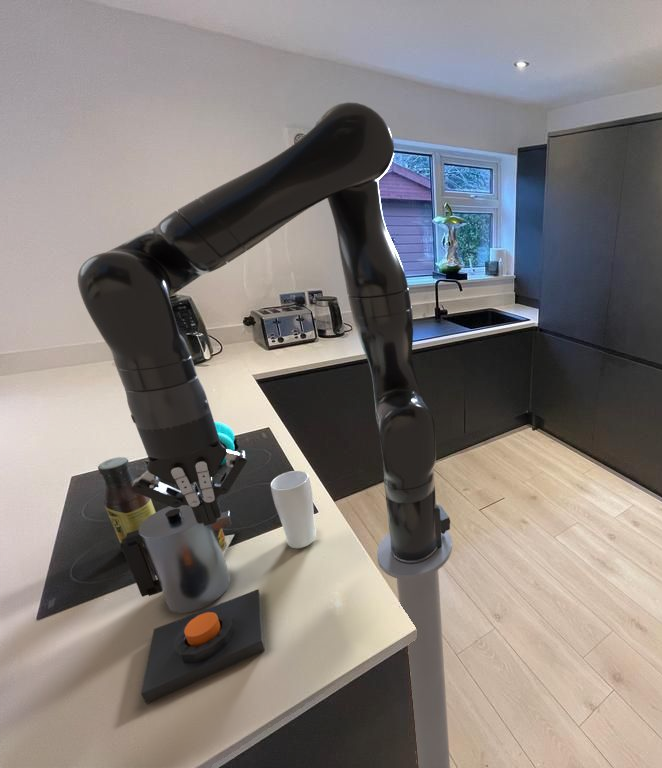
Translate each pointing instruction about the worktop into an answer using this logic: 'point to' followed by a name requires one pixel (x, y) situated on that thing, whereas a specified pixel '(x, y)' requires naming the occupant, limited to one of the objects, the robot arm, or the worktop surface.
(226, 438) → the turquoise yo-yo
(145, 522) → the kettle
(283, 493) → the drinking glass
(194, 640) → the button
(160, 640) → the black base plate
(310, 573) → the worktop surface
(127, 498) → the sauce bottle
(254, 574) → the worktop surface
